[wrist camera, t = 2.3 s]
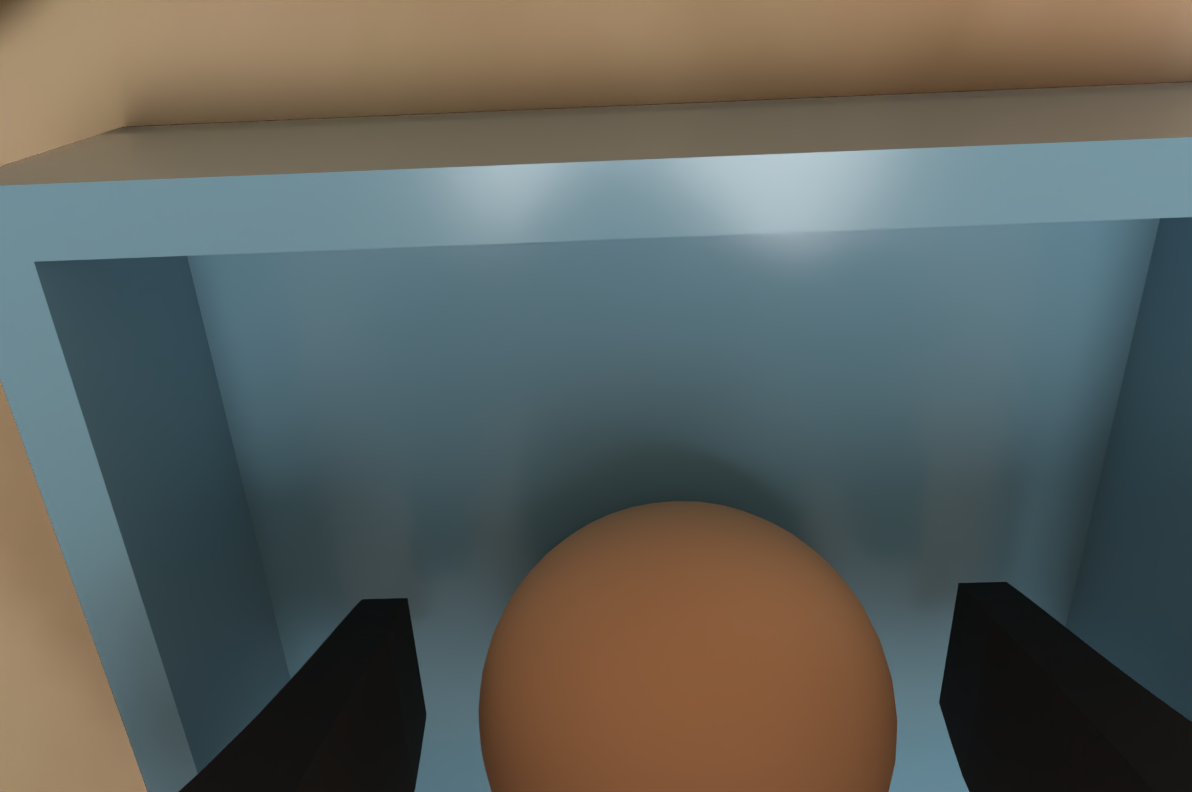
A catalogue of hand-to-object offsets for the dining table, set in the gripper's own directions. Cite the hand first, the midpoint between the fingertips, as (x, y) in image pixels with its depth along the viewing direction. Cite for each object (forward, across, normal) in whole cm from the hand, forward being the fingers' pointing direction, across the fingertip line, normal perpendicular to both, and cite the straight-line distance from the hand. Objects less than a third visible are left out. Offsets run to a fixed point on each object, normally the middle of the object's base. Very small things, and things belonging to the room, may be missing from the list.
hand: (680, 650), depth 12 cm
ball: (+2, 0, 0) cm, 2 cm away
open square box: (+2, 0, 0) cm, 2 cm away
